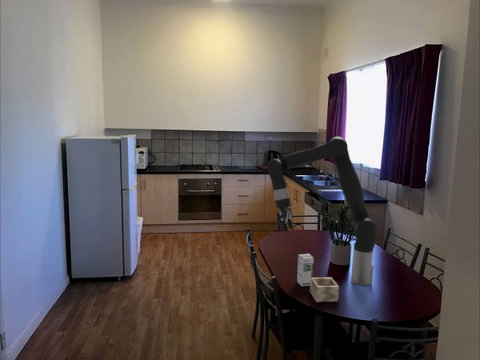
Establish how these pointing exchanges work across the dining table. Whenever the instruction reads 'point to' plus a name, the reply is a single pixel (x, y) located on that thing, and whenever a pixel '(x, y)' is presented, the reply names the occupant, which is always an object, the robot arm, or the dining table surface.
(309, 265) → the syrup box
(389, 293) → the dining table surface
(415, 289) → the dining table surface
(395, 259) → the dining table surface
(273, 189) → the robot arm
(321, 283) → the holder
